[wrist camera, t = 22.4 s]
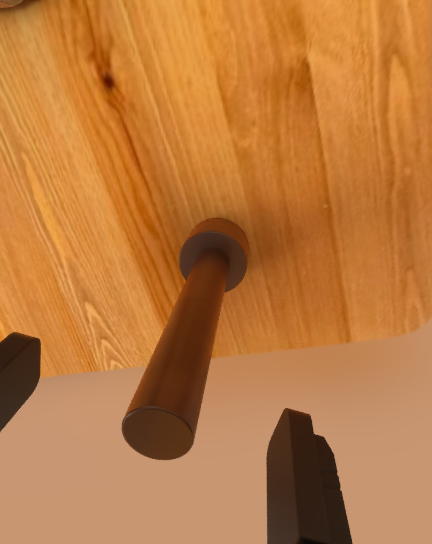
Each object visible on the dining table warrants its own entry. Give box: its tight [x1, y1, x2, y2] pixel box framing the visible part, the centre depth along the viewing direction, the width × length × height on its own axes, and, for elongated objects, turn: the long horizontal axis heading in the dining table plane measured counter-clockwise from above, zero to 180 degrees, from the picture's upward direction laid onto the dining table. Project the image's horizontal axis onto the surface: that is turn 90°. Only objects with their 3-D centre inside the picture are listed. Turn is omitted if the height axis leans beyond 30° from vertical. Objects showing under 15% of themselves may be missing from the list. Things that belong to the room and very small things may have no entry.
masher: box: [122, 218, 248, 460], centre depth 17 cm, size 4×4×16 cm
